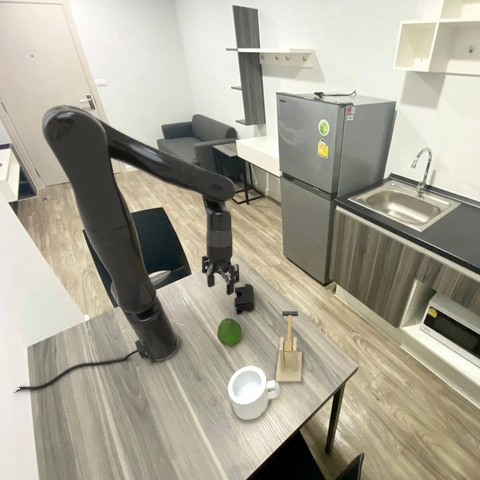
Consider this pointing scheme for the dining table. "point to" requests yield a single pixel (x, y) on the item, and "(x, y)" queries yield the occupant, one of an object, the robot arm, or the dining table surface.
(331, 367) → the dining table surface
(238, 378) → the mug
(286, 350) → the lever
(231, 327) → the avocado
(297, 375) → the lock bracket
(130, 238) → the robot arm
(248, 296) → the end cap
